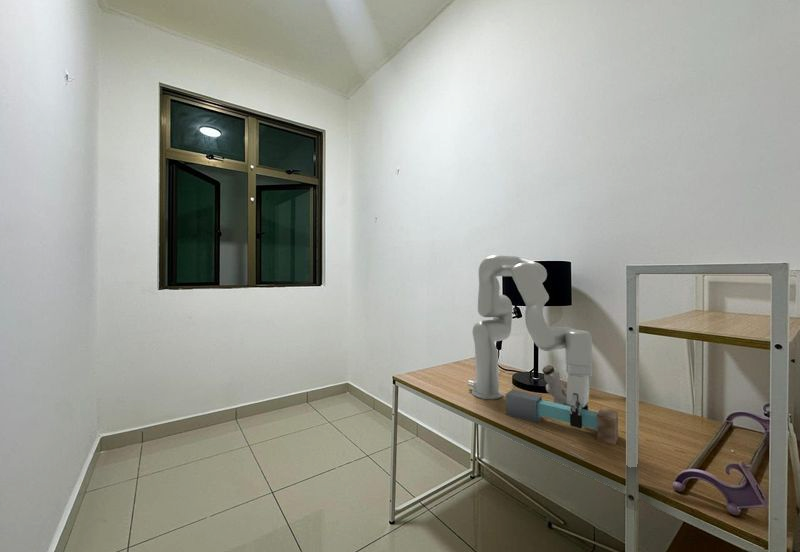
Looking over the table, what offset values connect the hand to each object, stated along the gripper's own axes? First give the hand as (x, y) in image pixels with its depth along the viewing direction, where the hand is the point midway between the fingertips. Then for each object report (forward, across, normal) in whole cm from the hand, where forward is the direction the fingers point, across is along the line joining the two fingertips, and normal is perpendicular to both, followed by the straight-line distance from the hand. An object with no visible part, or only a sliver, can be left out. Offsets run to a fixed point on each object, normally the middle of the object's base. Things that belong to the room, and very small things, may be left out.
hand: (579, 421), depth 104 cm
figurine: (+3, -19, -12) cm, 22 cm away
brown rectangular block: (+3, 0, +8) cm, 8 cm away
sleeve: (+3, 0, -18) cm, 18 cm away
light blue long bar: (0, 0, -3) cm, 3 cm away
